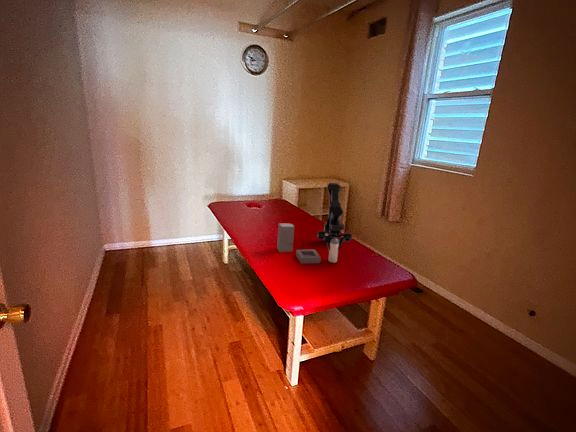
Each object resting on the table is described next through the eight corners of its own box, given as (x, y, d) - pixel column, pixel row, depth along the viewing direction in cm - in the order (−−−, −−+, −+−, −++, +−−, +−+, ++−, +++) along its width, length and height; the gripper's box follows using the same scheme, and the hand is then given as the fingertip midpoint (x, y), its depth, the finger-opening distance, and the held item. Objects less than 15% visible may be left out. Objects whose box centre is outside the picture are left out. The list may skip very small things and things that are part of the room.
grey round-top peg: (327, 258, 179) (329, 236, 175) (335, 258, 180) (337, 236, 176) (329, 262, 175) (332, 240, 171) (338, 262, 176) (340, 240, 172)
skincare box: (279, 252, 183) (280, 227, 179) (276, 247, 190) (277, 222, 185) (293, 251, 186) (295, 226, 181) (290, 247, 192) (291, 222, 188)
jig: (296, 255, 182) (296, 249, 181) (314, 254, 184) (314, 249, 183) (300, 263, 171) (301, 258, 170) (320, 262, 174) (320, 257, 173)
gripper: (319, 217, 174) (318, 242, 167) (353, 219, 173) (353, 245, 166) (318, 225, 184) (316, 250, 177) (350, 228, 183) (350, 253, 176)
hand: (334, 250), depth 174 cm, fingers closed on grey round-top peg, 5 cm apart
